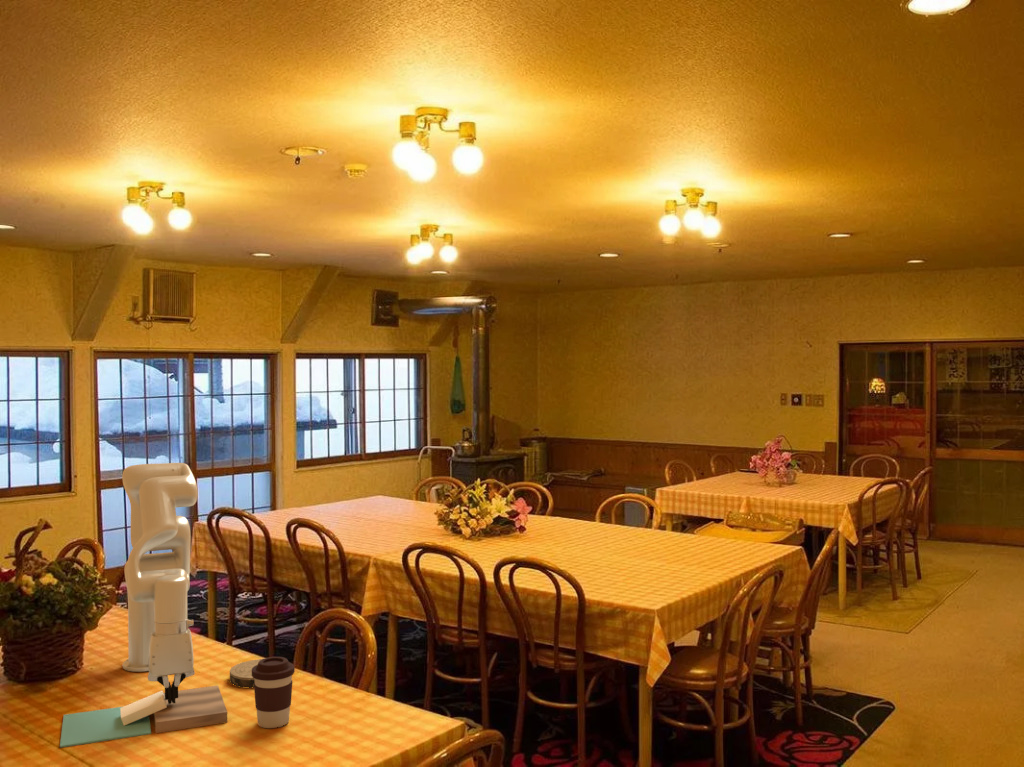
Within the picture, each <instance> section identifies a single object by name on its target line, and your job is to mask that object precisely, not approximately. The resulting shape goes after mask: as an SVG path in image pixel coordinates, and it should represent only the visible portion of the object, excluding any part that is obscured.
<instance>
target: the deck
mask: <svg viewBox="0 0 1024 767" xmlns="http://www.w3.org/2000/svg"><path fill="white" fill-rule="evenodd" d="M163 694H164V697H165V692H163ZM222 695H223V694H222V692H221V690H220V688H219V685H218V684H217V685H212V686H211V685H210V686H204V687H203V686H202V687H195V688H188V689H182V690H178V698H175V703H171V704H168V700H165V701H166V706H167V707H166V708H164V709H162V710H159V711H157V712H155V713H152V715H153V721H154V722H153V723H154V729H155V734H158V733H165V732H166V733H167V732H173V731H179V730H185V729H192V728H193V729H194V728H200V727H204V726H211V725H212V724H213V725H217V724H218V723H219V724H224V722H226V723H228V710H227V707H226V704H225V702H224V698H223V696H222ZM219 724H218V725H219Z"/></svg>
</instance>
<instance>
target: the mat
mask: <svg viewBox="0 0 1024 767" xmlns="http://www.w3.org/2000/svg"><path fill="white" fill-rule="evenodd" d="M122 707H123V706H118V707H111V708H110V707H108V708H104V709H95V710H90V711H89V710H88V711H83V712H82V711H80V712H74V713H67V714H63V718H62V726H61V733H60V734H61V735H60V741H59V742H60V743H59V748H66V747H68V748H69V747H75V746H80V745H87V744H88V745H89V744H94V743H99V742H106V741H111V740H112V741H113V740H118V739H119V740H120V739H127V738H133V737H139V736H146V735H152V728H151V722H150V720H151V719H150V715H148V716H145V717H143V718H141V719H138V720H136V721H134V722H132V723H129V724H127V725H125V726H124V725H123V723H122V720H121V711H120V708H122Z"/></svg>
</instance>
